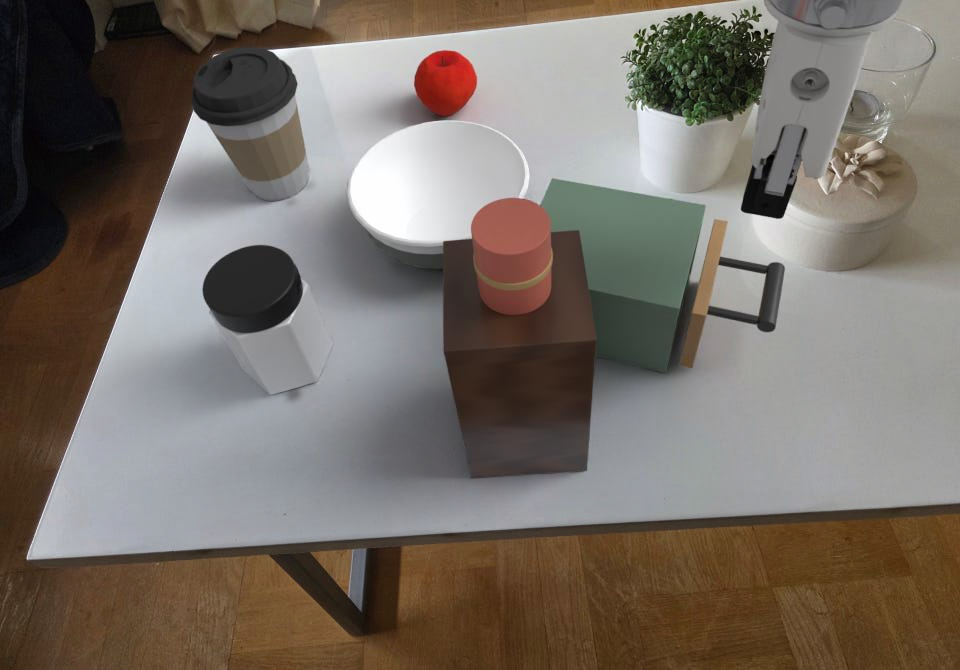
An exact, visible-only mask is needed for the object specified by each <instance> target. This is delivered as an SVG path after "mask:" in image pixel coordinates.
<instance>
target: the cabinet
mask: <svg viewBox="0 0 960 670" xmlns="http://www.w3.org/2000/svg"><path fill="white" fill-rule="evenodd" d="M539 205H540V206H541V207H542V208H543V209H544V210H545V211H546V212H547V214H548V216H549V218H550V222H551V232H559V231H571V230H579V231H580V237H581V243H582V250H583V256H584V262H585V269H586V275H587V281H588V287H589V294H590V300H591V306H592V313H593V319H594V325H595V331H596V338H597V344H596V357H595V358H599V359H600V358H601V359H603V360H609V361H611V362H612V361H613V362H617V363H620V364H624V365H630V366H633V367H638V368H641V369H647V370H649V371H655V372H659V373H663V374H666V373H667V369H668V365H669V361H670V358H671V354H672V350H673V346H674V341H675V338H676V334H677V330H678V326H679V323H680V319H681V315H682V311H683V307H684V302H685V299H686V294H687V290H688V288H689V287H688V286H689V282H690V279H691V274H692V271H693V266H694V262H695V257H696V252H697V248H698V244H699V240H700V234H701V230H702V226H703V220H704V216H705V212H706V209H707V208H706V207H707V205H706V204H700V203H696V202H690V201H685V200H678V199H672V198H668V197H661V196H657V195H656V196H655V195H651V194H646V193H638V192H633V191H627V190H622V189H615V188H611V187H604V186H599V185H595V184H588V183H581V182H576V181H571V180H564V179H558V178H554V177H553V178H551V180H550V182H549V185H548V186H547V189H546V191H545V193H544V196H543V197H542V200H541V203H540V204H539Z"/></svg>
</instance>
